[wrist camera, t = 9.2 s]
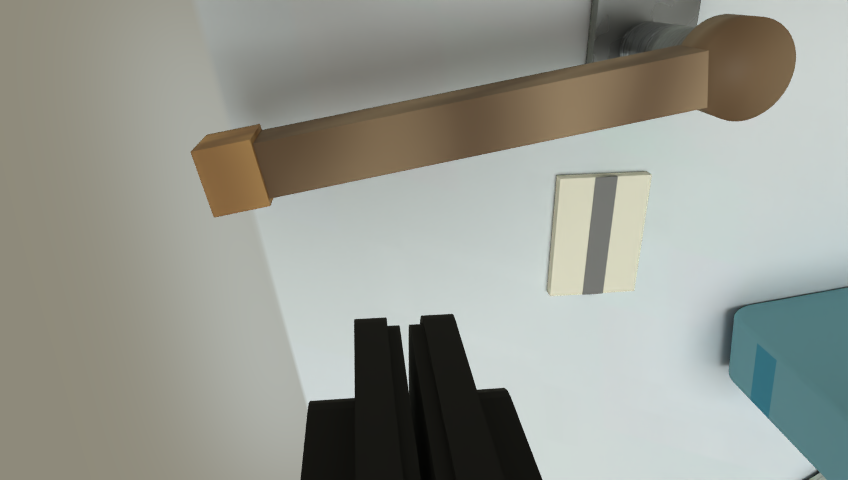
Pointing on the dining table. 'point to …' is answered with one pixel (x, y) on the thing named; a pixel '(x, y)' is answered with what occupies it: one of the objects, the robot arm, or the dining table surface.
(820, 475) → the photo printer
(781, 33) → the swing bar
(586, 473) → the dining table surface
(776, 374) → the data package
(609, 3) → the post
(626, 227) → the label tile
